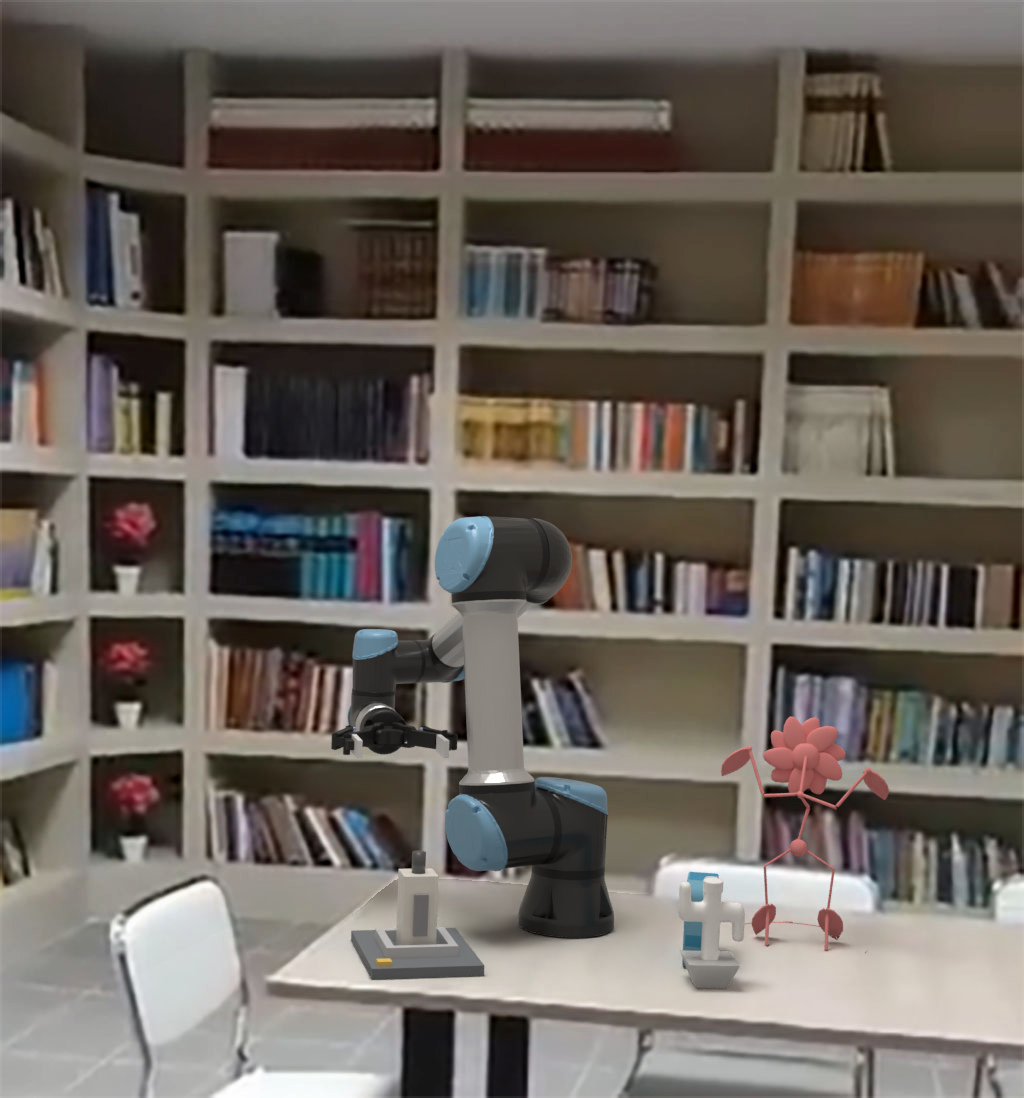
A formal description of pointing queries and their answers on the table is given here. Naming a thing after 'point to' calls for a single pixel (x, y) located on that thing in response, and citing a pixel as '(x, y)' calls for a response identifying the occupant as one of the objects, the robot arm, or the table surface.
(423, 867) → the plug
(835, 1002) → the table surface
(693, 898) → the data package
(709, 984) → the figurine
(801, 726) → the pink flower stick figure
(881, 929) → the table surface
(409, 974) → the dock
